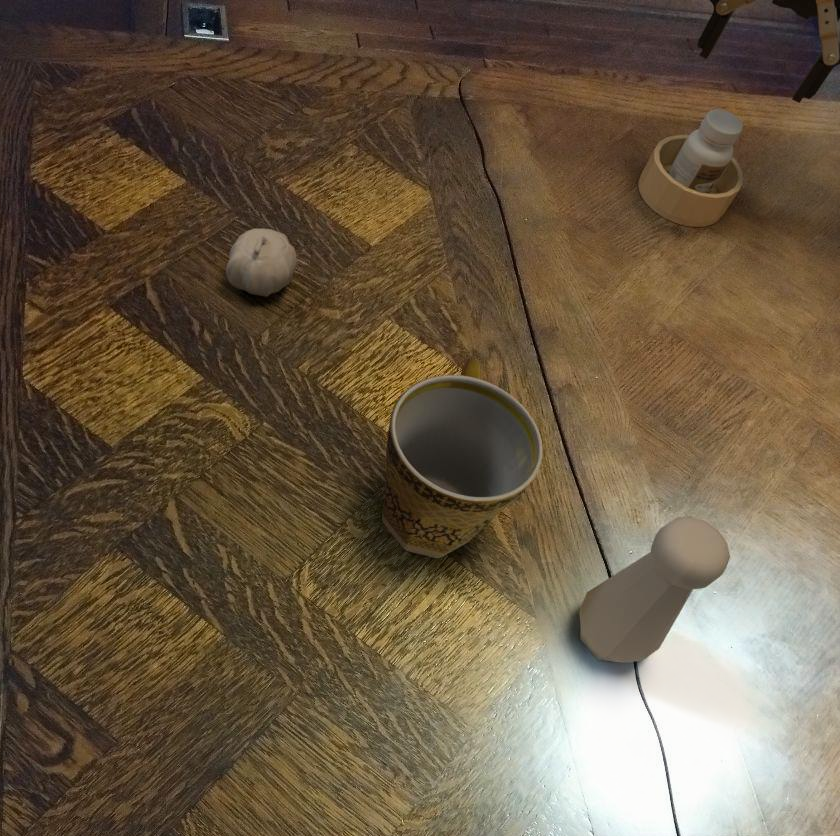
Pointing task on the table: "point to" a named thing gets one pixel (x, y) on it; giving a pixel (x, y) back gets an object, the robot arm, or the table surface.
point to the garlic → (261, 262)
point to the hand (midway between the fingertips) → (750, 75)
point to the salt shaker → (652, 591)
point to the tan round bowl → (685, 188)
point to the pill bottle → (707, 151)
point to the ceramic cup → (455, 460)
